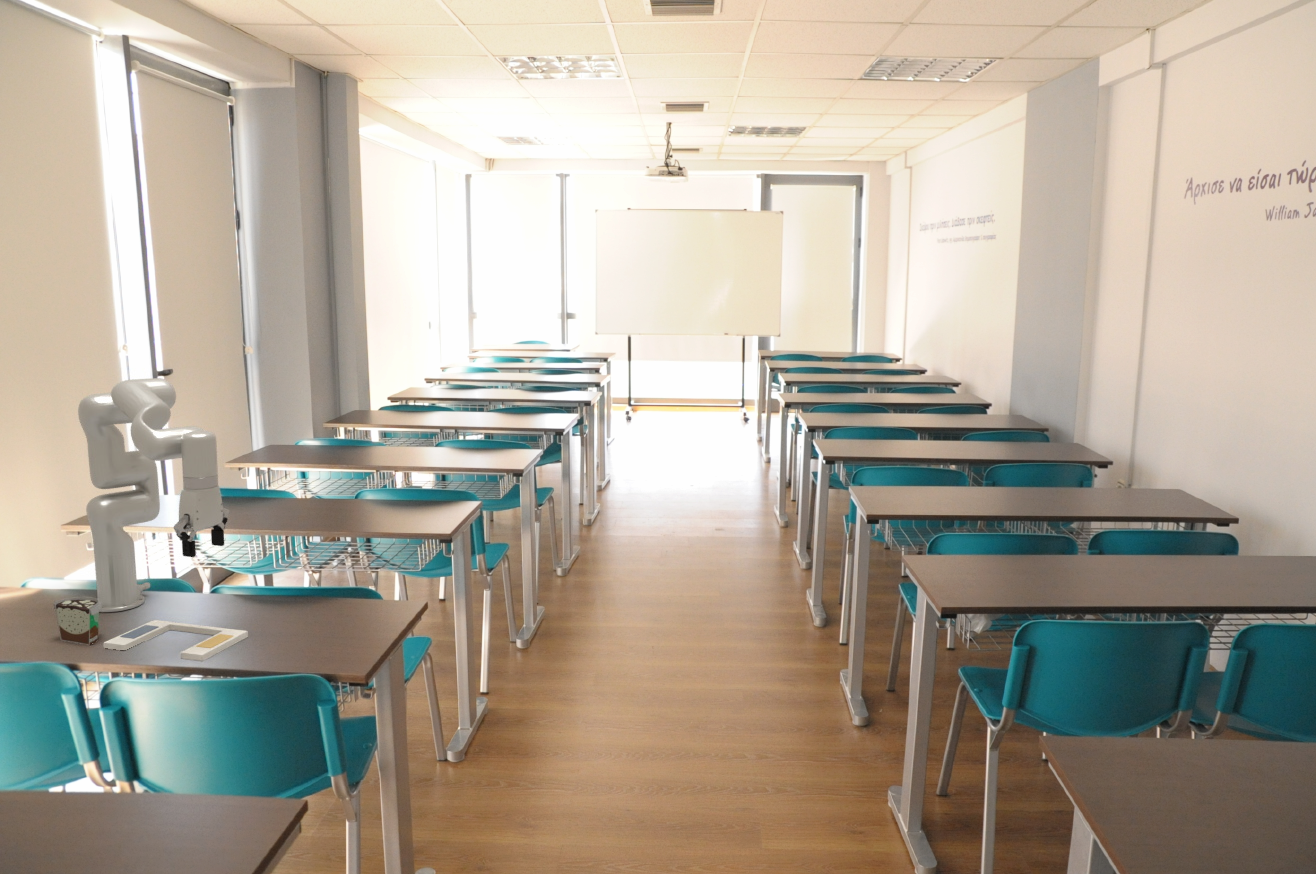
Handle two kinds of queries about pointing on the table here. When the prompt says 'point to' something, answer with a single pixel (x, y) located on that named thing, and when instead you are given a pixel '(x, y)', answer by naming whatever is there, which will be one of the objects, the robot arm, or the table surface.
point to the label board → (197, 652)
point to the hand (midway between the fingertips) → (204, 550)
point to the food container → (78, 619)
